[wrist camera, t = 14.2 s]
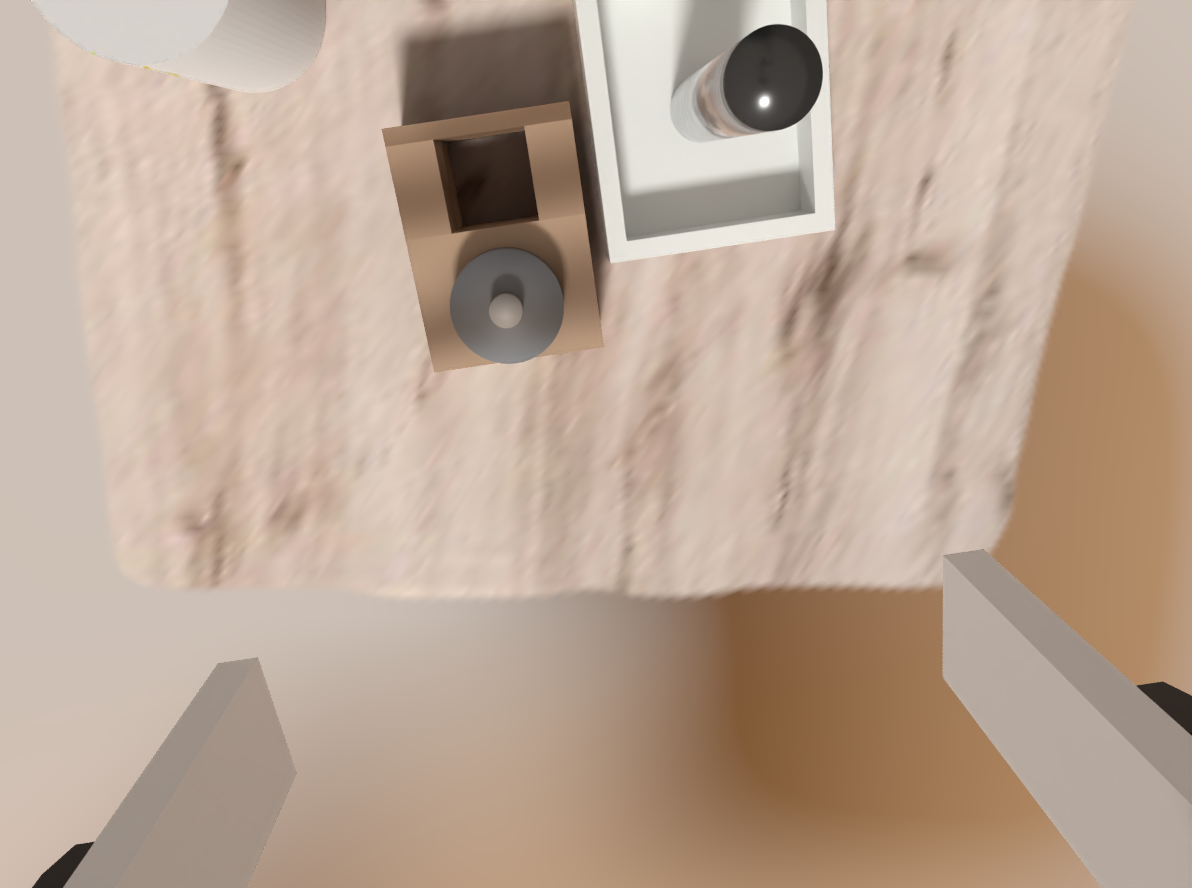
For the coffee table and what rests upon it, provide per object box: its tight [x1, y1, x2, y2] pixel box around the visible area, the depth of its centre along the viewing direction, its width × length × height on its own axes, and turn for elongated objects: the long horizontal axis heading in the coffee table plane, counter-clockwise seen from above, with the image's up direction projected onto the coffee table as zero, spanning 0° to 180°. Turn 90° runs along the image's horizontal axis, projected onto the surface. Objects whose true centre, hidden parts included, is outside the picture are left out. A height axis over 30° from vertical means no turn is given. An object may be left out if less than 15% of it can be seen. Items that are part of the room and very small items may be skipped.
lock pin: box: [670, 24, 823, 143], centre depth 35 cm, size 3×3×15 cm
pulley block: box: [382, 101, 604, 372], centre depth 41 cm, size 12×9×8 cm
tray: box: [573, 0, 835, 263], centre depth 41 cm, size 14×12×3 cm
